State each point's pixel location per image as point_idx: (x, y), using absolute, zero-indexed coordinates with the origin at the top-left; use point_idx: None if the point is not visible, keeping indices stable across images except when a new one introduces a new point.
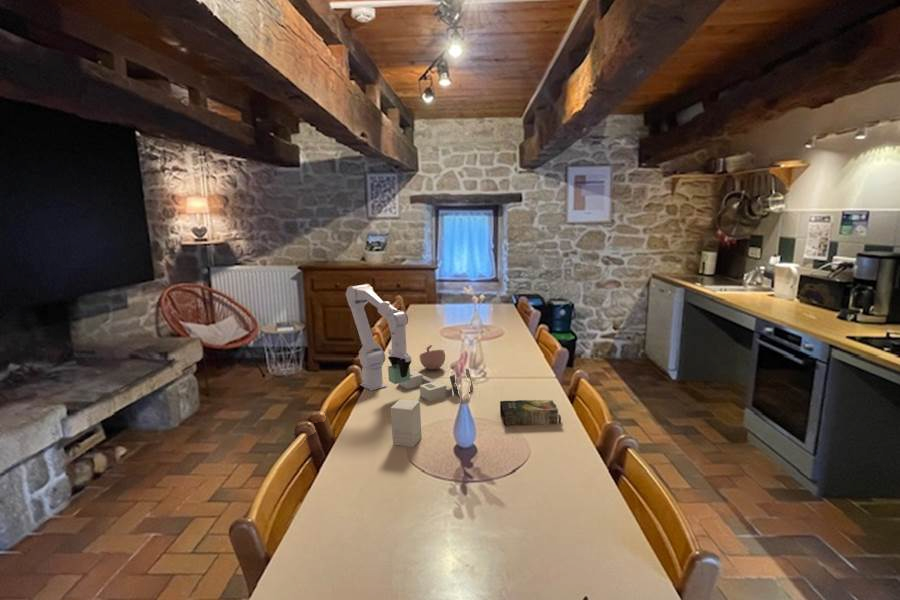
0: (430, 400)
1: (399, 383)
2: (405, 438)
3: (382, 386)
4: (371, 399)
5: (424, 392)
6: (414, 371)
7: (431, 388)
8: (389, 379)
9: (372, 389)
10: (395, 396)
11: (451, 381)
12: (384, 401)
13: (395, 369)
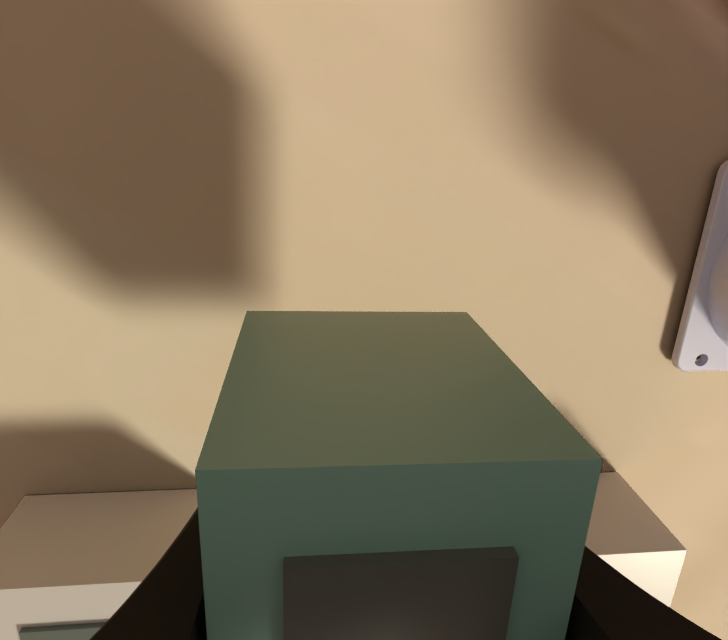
0: (22, 505)
1: (606, 484)
2: None
3: (692, 321)
4: (502, 26)
5: (103, 538)
6: None
7: (3, 630)
8: (453, 322)
9: (719, 189)
10: (376, 300)
11: None
12: (332, 123)
13: (199, 512)
